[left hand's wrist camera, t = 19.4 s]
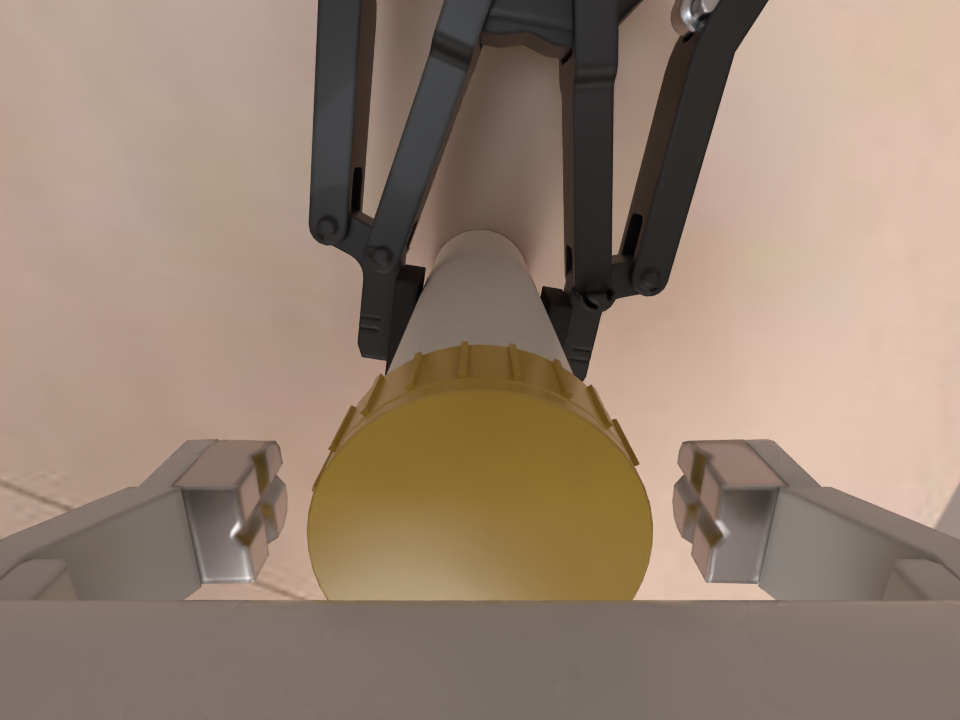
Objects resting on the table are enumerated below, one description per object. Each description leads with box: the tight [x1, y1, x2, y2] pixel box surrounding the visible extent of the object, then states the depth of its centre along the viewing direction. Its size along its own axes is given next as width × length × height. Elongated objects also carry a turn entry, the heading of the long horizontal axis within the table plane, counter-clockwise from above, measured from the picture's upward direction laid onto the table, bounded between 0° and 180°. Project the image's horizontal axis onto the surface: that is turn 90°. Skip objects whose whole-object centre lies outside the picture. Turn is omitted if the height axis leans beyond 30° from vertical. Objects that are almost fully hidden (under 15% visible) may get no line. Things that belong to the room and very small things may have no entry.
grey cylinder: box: [387, 230, 573, 374], centre depth 18 cm, size 4×4×18 cm
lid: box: [307, 341, 653, 600], centre depth 9 cm, size 5×5×2 cm
